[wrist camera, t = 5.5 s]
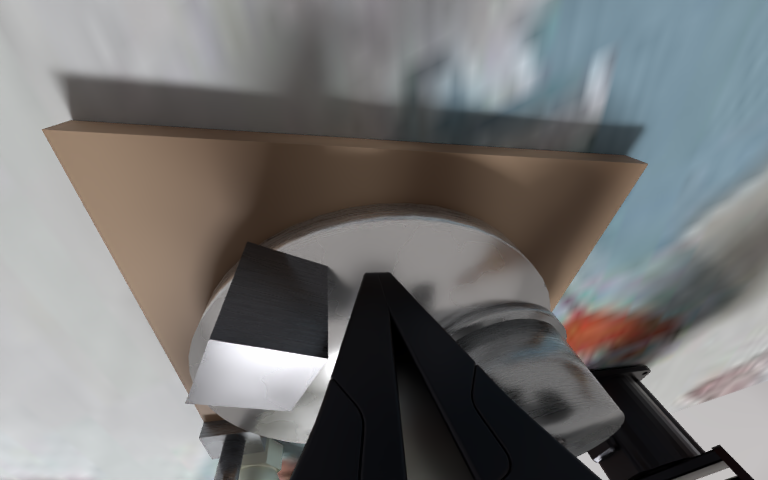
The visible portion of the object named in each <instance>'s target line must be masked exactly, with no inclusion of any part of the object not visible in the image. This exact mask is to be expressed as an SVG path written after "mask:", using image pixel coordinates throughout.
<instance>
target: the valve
mask: <svg viewBox="0 0 768 480" xmlns="http://www.w3.org/2000/svg"><path fill="white" fill-rule="evenodd" d="M282 455H283V445H282V444H280V443H278V442H277V441H275V440H273V439H271V438H267V439H266V446H265V452H258V453H251V454H244V455H243V459H242V464H241V469H240V474H239V479H238V480H279V478H278V475H277V473H278V472H279V471H280V470H281V465H282Z"/></svg>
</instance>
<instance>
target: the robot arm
mask: <svg viewBox="0 0 768 480" xmlns="http://www.w3.org/2000/svg"><path fill="white" fill-rule="evenodd" d="M475 364H476V363H475V361H474V360H473V359H472V358H471V357H470V356H469V355H468V354H467V353H466V351H465V350H464V349H463V348H462V347H461V346H460V345H459V344H458V343H457V342H456V341H455V340H454V339H453V338H452V337H451V336H450V335H449V334H448V333H447V331H446V330H445V329H444V328H443V327H442V326H441V325H440V324H439V323H438V322H437V321H436V320H435V319H434V318H433V317H432V316H431V315H430V314H429V313H428V311H427V310H426V309H425V308H424V307H423V306H422V305H421V304H420V303H419V302H418V301H417V300H416V299H415V298H414V297H413V296H412V295H411V294H410V293H409V291H408V290H407V289H406V288H405V287H404V286H403V285H402V284H401V283H400V282H399V281H398V280H397V279H396V278H395V277H394V276H393V275H392V274H391V273H390V272H366V273H365V274H364V275H363V278H362V282H361V285H360V288H359V291H358V294H357V297H356V300H355V303H354V306H353V309H352V312H351V316H350V319H349V322H348V325H347V328H346V331H345V334H344V337H343V340H342V343H341V347H340V350H339V353H338V356H337V359H336V362H335V365H334V368H333V371H332V374H331V379H330V380H329V383H328V386H327V389H326V392H325V395H324V398H323V401H322V404H321V407H320V409H319V412H318V415H317V418H316V421H315V423H314V426H313V428H312V430H311V433H310V435H309V437H308V440H307V442H306V444H305V447H304V449H303V451H302V454H301V456H300V458H299V460H298V463H297V465H296V467H295V469H294V471H293V473H292V476H291V478H290V480H602V479H600V478H599V477H598V476H597V475H596V474H594V473H593V472H592V471H591V470H590V469H589V468H588V467H587V466H586V465H584V464H583V463H582V462H581V461H580V460H579V459H577V457H576V456H574V455H573V454H572V453H571V452H570V451H569V450H568V449H567V448H565V447H564V446H563V445H562V444H561V443H560V442H559V441H558V440H556V439H555V438H554V437H553V436H552V435H551V434H550V433H549V432H547V431H546V430H545V429H544V428H543V427H542V426H541V425H540V424H539V423H537V422H536V421H535V420H534V419H533V418H532V417H531V416H530V415H529V414H528V413H526V412H525V411H524V410H523V409H522V408H521V407H520V406H519V405H518V404H517V403H516V402H515V401H514V400H512V399H511V398H510V397H509V396H508V395H507V394H506V393H505V392H504V391H503V390H502V389H501V388H500V387H499V386H498V385H497V384H496V383H495V382H494V381H493V380H492V379H491V378H490V377H489V376H488V374H487V373H486V372H485V371H484V370H483V369H482V368H481V367H480V366H479V365H475ZM650 372H651V370H650V369H649V368H648V367H647V366H637V367H629V368H620V369H612V370H604V371H595V372H591V373H592V374H593V376H594V377H595V378H596V379H597V381H598V382H599V383H600V385H601V386H602V387H603V388H604V390H605V391H606V392H607V393H608V395H609V396H610V397H611V398H612V400H613V401H614V402H615V403H616V405H617V406H618V407H619V408H620V410H621V411H622V412H623V413H624V416H625V419H624V422H623V424H622V426H621V427H620V428H619V429H618V430H617V431H616V432H615V433H614V434H613V435H612V436H611V437H609V438H608V439H607V440H605V441H604V442H602V443H601V444H599V445H598V446H596V447H594V448H593V449H591V450H589V451H587V452H588V454H589V455H590V457H591V458H592V460H593V461H595V462H596V463H597V462H599V464H600V466H601V467H602V469H603V470H604V472H605V473H606V475H607V476H608V478H609V479H610V480H696V479H698V478H701V477H704V476H707V475H710V474H712V473H715V472H718V471H721V470H723V469H726V468H729V467H730V468H731V469H732V471H733V472H734V473H735V474H736V475H737V476H734V477H731V478H729V479H726V480H754V479H753V478H752V477H751V476H750V475H749V474H748V473H747V472H746V471H745V470H744V469H743V468H742V467H741V466H740V465H739V464H738V463H737V462H736V461H735V460H734V459H733V458H732V457H731V456H730V455H729V454H728V453H727V452H726V451H725V450H724V449H723V448H722V447H721V446H720V445H717V446H715V447H713V448H712V449H713V450H710V451H708V452H705V451H704V450H703V449H702V448H701V447H700V446H699V445H698V444H697V443H696V442H695V441H694V439H693V438H692V437H691V436H690V435H689V434H688V433H687V432H686V431H685V430H684V428H683V427H682V426H681V425H680V424H679V423H678V422H677V421H676V420H675V419H674V418H673V417H672V415H671V414H670V413H669V412H668V411H667V410H666V409H665V408H664V407H663V406H662V405H661V403H660V402H659V401H658V400H657V399H656V398H655V397H654V396H653V395H652V394H651V393H650V391H649V390H648V389H647V388H646V387H645V386H644V385H643V384H642V383H641V382H640V381H641V380H642V379H643V378H644V377H645V376H646V375H648V374H649V373H650Z"/></svg>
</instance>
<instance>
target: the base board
mask: <svg viewBox="0 0 768 480" xmlns="http://www.w3.org/2000/svg"><path fill="white" fill-rule="evenodd" d="M42 131H43V133H44V134H45V136H46V138H47V140H48V142H49V143H50V145H51V147H52V149H53V151H54V152H55V154H56V156H57V158H58V160H59V161H60V163H61V165H62V167H63V169H64V170H65V172H66V174H67V176H68V178H69V179H70V181H71V183H72V185H73V187H74V189H75V190H76V192H77V194H78V196H79V198H80V199H81V201H82V203H83V205H84V207H85V208H86V210H87V212H88V214H89V216H90V217H91V219H92V221H93V223H94V225H95V226H96V228H97V230H98V232H99V234H100V235H101V237H102V239H103V241H104V243H105V244H106V246H107V248H108V250H109V252H110V253H111V255H112V257H113V259H114V261H115V262H116V264H117V266H118V268H119V270H120V271H121V273H122V275H123V277H124V279H125V280H126V282H127V284H128V286H129V288H130V290H131V291H132V293H133V295H134V297H135V299H136V300H137V302H138V304H139V306H140V308H141V309H142V311H143V313H144V315H145V317H146V318H147V320H148V322H149V324H150V326H151V327H152V329H153V331H154V333H155V335H156V336H157V338H158V340H159V342H160V344H161V345H162V347H163V349H164V351H165V353H166V354H167V356H168V358H169V360H170V362H171V363H172V365H173V367H174V369H175V371H176V372H177V374H178V376H179V378H180V380H181V381H182V383H183V385H184V387H185V389H186V391H187V392H188V394H189V392H190V390H191V387H192V384H193V381H192V378H191V375H190V372H189V352H190V347H191V342H192V338H193V336H194V334H195V331H196V329H197V327H198V325H199V322H200V320H201V318H202V316H203V313H204V311H205V309H206V307H207V304H208V302H209V300H210V298H211V296H212V294H213V291H214V290H215V288H216V287H217V285H218V284H219V283H220V281H221V280H222V279H223V277H224V276H225V274H226V273H227V272H228V271H229V270H230V269H231V268H232V267H233V266H234V265H235V264H236V263H237V262H238V261H239V260H240V259H241V256H242V254H243V251H244V248H245V246H246V243H247V242H251V243H254V244H257V245H259V244H261V243H262V242H264V241H265V240H267V239H269V238H270V237H272V236H274V235H276V234H278V233H280V232H282V231H283V230H285V229H287V228H289V227H291V226H293V225H296V224H299V223H301V222H304V221H306V220H309V219H311V218H314V217H317V216H319V215H323V214H327V213H331V212H335V211H339V210H343V209H346V208H352V207H359V206H366V205H373V204H390V203H412V204H422V205H431V206H438V207H442V208H446V209H451V210H455V211H459V212H462V213H465V214H467V215H470V216H472V217H475V218H477V219H480V220H482V221H484V222H485V223H487V224H489V225H490V226H492V227H494V228H495V229H497V230H499V231H500V232H501V233H502V234H503V235H504V236H505V237H507V238H508V239H509V240H510V241H511V242H512V243H513V244H514V245H515V246H516V247H517V248H518V249H519V250H520V251H521V253H522V254H523V255H524V256H525V257H526V258H527V259H528V260H529V261H530V262H531V263H532V265H533V266H534V267H535V269H536V270H537V271H538V273H539V274H540V275H541V277H542V278H543V280H544V283H545V285H546V288H547V290H548V293H549V299H550V305H551V306H550V311H551V312H552V311H553V309H554V308H555V306H556V305H557V303H558V301H559V300H560V298H561V297H562V295H563V294H564V292H565V291H566V289H567V288H568V286H569V285H570V283H571V282H572V280H573V279H574V277H575V275H576V274H577V272H578V271H579V269H580V268H581V266H582V265H583V263H584V262H585V260H586V259H587V257H588V256H589V254H590V252H591V251H592V249H593V248H594V246H595V245H596V243H597V242H598V240H599V239H600V237H601V236H602V234H603V233H604V231H605V229H606V228H607V226H608V225H609V223H610V222H611V220H612V219H613V217H614V216H615V214H616V213H617V211H618V210H619V208H620V207H621V205H622V203H623V202H624V200H625V199H626V197H627V196H628V194H629V193H630V191H631V190H632V188H633V187H634V185H635V184H636V182H637V180H638V179H639V177H640V176H641V174H642V173H643V171H644V170H645V168H646V167H647V165H648V164H647V163H644V162H642V161H639V160H637V159H634V158H631V157H629V156H626V155H612V154H597V153H581V152H565V151H549V150H533V149H517V148H502V147H486V146H470V145H454V144H438V143H423V142H407V141H391V140H375V139H359V138H343V137H328V136H312V135H296V134H280V133H264V132H249V131H233V130H217V129H201V128H185V127H170V126H154V125H138V124H122V123H106V122H90V121H75V120H70V121H67V122H64V123H61V124H58V125H55V126H51V127H48V128H45V129H42ZM194 405H195V407H196V409H197V410H198V412H199V414H200V416H201V418H202V419H203V421H204V422H210V421H218V420H224V419H223V418H222V417H220V416H219V415H218V414H217V413H215V412H214V411H213V410H212V409H211V408H210V407H209V406H208V405H200V404H194Z"/></svg>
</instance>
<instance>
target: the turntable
mask: <svg viewBox="0 0 768 480" xmlns="http://www.w3.org/2000/svg"><path fill="white" fill-rule="evenodd" d="M366 272H390V273H391V274H392V275H393V276H394V277H395V278H396V279H397V280H398V281H399V282H400V283H401V284H402V285H403V286H404V287H405V288H406V289H407V290H408V291H409V293H410V294H411V295H412V296H413V297H414V298H415V299H416V300H417V301H418V302H419V303H420V304H421V305H422V306H423V307H424V308H425V309H426V310H427V311H428V313H429V314H430V315H431V316H432V317H433V318H434V319H435V320H436V321H437V322H438V323H439V324H440V325H441V326H442V327H443V328H445V327H446V326H448V325H449V324H451V323H452V322H454V321H456V320H458V319H460V318H461V317H463V316H466V315H468V314H470V313H472V312H475V311H478V310H481V309H483V308H487V307H491V306H494V305H499V304H505V303H515V302H518V303H532V304H536V305H540V306H543V307H545V308H547V309H548V310H550V306H551V305H550V299H549V293H548V290H547V288H546V285H545V283H544V280H543V278H542V277H541V275H540V274H539V273H538V271H537V270H536V269H535V267H534V266H533V265H532V263H531V262H530V261H529V260H528V259H527V258H526V257H525V256H524V255H523V254H522V253H521V251H520V250H519V249H518V248H517V247H516V246H515V245H514V244H513V243H512V242H511V241H510V240H509V239H508V238H507V237H505V236H504V235H503V234H502V233H501V232H500V231H499V230H497V229H495V228H494V227H492V226H490V225H489V224H487V223H485V222H484V221H482V220H480V219H477V218H475V217H472V216H470V215H467V214H465V213H462V212H459V211H455V210H451V209H446V208H442V207H438V206H431V205H422V204H412V203H390V204H373V205H366V206H359V207H352V208H346V209H343V210H339V211H335V212H331V213H327V214H323V215H319V216H317V217H314V218H311V219H309V220H306V221H304V222H301V223H299V224H296V225H293V226H291V227H289V228H287V229H285V230H283V231H282V232H280V233H278V234H276V235H274V236H272V237H270V238H269V239H267V240H265V241H264V242H262V243H261V244H259V245H257V244H254V243H251V242H247V243H246V246H245V248H244V251H243V254H242V256H241V259H240V260H239V261H238V262H237V263H236V264H235V265H234V266H233V267H232V268H231V269H230V270H229V271H228V272H227V273H226V274H225V276H224V277H223V279H222V280H221V281H220V283H219V284H218V285H217V287H216V288H215V290H214V291H213V294H212V296H211V298H210V300H209V302H208V304H207V307H206V309H205V311H204V313H203V316H202V318H201V320H200V322H199V325H198V327H197V329H196V331H195V334H194V336H193V338H192V342H191V347H190V352H189V372H190V375H191V378H192V381H193V384H192V387H191V390H190V392H189V395H188V398H187V400H186V403H187V404H200V405H208V406H209V407H210V408H211V409H212V410H213V411H214V412H215V413H217V414H218V415H219V416H220V417H222V418H223V419H224V420H226V421H228V422H230V423H232V424H233V425H235V426H237V427H239V428H242V429H244V430H246V431H249V432H251V433H254V434H257V435H261V436H264V437H267V438H271V439H276V440H281V441H286V442H294V443H302V444H306V442H307V440H308V437H309V435H310V433H311V430H312V428H313V426H314V423H315V421H316V418H317V415H318V412H319V409H320V407H321V404H322V401H323V398H324V395H325V392H326V389H327V386H328V383H329V380H330V379H331V374H332V371H333V368H334V365H335V362H336V359H337V356H338V353H339V350H340V347H341V343H342V340H343V337H344V334H345V331H346V328H347V325H348V322H349V319H350V316H351V312H352V309H353V306H354V303H355V300H356V297H357V294H358V291H359V288H360V285H361V282H362V278H363V275H364V274H365V273H366Z"/></svg>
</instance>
